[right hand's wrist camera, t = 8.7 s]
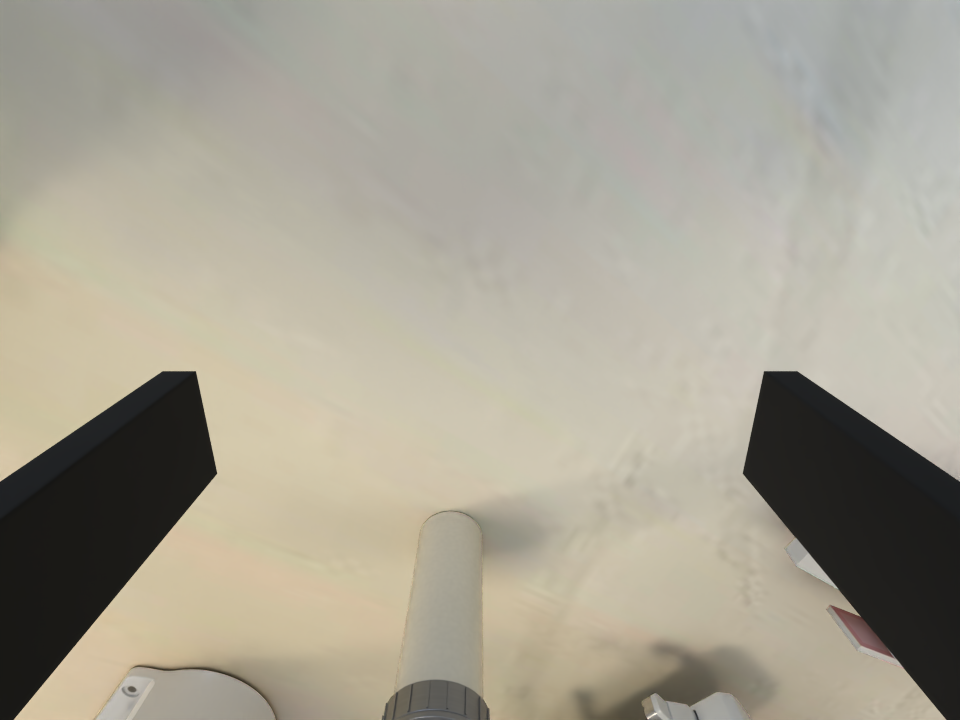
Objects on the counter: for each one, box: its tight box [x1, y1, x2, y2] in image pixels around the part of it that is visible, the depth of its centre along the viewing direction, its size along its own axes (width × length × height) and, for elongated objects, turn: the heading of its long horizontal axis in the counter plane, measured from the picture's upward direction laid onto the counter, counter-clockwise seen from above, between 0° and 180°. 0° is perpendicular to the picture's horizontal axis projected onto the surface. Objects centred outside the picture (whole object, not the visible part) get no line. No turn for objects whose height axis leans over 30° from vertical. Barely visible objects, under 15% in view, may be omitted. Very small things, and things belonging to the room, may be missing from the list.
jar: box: [394, 511, 483, 699], centre depth 39 cm, size 6×6×18 cm
